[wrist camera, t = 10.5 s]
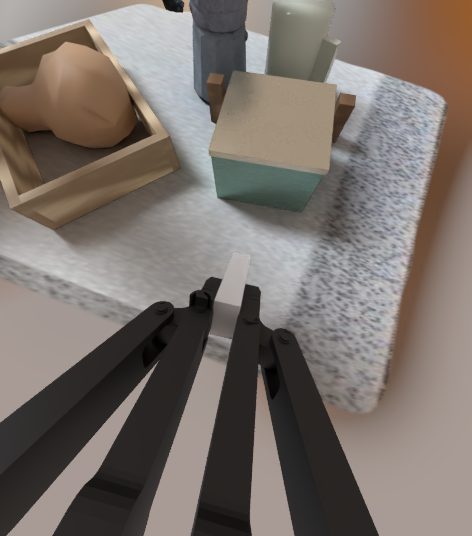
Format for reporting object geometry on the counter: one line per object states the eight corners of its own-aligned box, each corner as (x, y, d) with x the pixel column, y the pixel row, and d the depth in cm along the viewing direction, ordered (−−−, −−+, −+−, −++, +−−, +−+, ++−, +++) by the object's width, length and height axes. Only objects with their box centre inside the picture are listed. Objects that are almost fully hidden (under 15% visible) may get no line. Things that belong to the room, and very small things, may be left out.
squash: (143, 161, 28) (86, 106, 20) (39, 163, 32) (-49, 118, 23) (152, 94, 29) (101, 12, 20) (49, 104, 33) (-33, 38, 24)
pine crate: (1, 101, 32) (-40, 62, 27) (109, 61, 35) (89, 19, 30) (53, 229, 25) (10, 208, 21) (180, 167, 28) (169, 136, 23)
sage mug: (253, 92, 33) (260, 9, 24) (279, 67, 34) (294, -19, 26) (303, 119, 31) (330, 40, 22) (328, 91, 33) (362, 8, 24)
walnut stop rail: (211, 121, 31) (206, 82, 26) (214, 112, 31) (210, 72, 26) (334, 142, 29) (355, 106, 24) (335, 133, 30) (355, 95, 25)
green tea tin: (216, 198, 27) (208, 150, 19) (233, 134, 30) (233, 70, 22) (301, 214, 26) (329, 169, 19) (310, 146, 30) (336, 84, 22)
